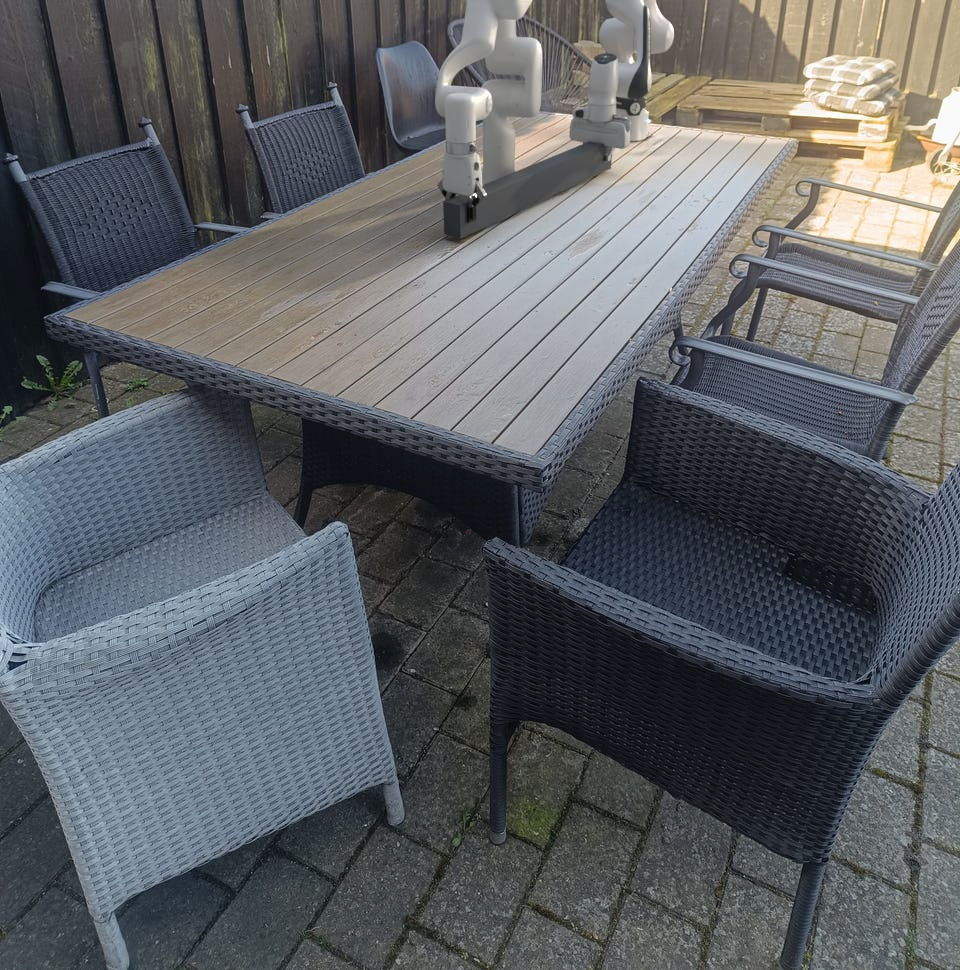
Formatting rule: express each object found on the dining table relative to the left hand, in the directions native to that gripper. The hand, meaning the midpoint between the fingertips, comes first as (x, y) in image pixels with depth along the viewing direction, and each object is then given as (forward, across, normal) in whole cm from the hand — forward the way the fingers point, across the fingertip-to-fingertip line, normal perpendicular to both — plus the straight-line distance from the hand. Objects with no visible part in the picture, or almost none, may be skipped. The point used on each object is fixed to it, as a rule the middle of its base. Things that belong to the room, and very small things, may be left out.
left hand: (462, 218), depth 222 cm
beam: (+4, 0, -36) cm, 36 cm away
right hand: (+1, 0, -73) cm, 73 cm away
